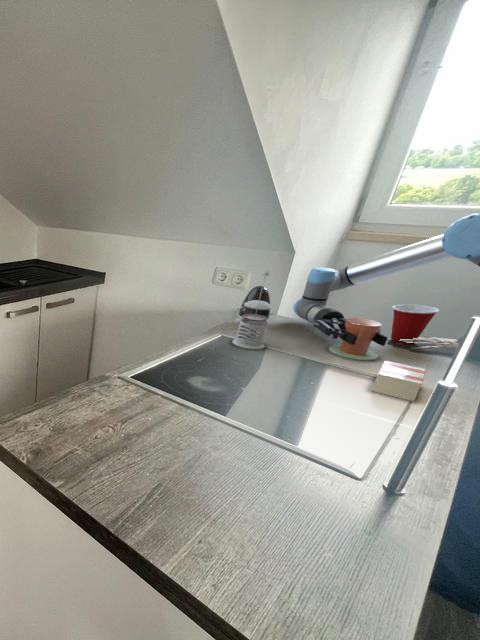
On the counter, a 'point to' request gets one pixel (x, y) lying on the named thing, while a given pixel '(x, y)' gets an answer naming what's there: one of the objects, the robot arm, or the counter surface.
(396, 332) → the plastic cup
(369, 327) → the terracotta pot
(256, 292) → the black rounded piece
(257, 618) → the counter surface
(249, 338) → the french press
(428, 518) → the counter surface
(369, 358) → the mat
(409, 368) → the box with red stripes
